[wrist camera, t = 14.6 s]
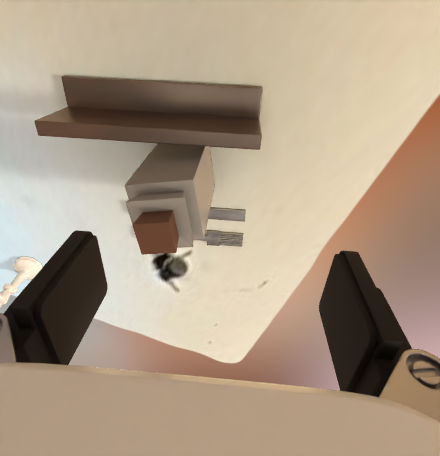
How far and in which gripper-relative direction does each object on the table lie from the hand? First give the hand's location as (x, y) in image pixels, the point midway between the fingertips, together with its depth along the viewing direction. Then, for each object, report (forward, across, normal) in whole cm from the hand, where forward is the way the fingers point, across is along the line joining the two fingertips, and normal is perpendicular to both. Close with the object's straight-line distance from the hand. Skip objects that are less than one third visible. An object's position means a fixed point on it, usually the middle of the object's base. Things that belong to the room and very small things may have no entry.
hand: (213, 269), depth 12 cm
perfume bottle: (+31, +6, +8) cm, 32 cm away
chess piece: (+31, +35, +29) cm, 55 cm away
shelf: (+30, +9, 0) cm, 32 cm away
